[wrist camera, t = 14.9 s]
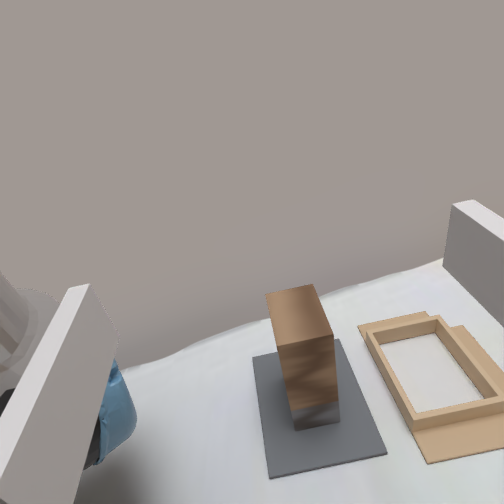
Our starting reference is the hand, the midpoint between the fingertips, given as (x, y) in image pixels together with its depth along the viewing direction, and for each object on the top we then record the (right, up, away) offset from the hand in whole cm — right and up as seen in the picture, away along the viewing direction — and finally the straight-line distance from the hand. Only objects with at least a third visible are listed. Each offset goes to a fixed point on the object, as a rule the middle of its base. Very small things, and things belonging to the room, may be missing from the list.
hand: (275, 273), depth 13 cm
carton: (+21, -13, +28) cm, 37 cm away
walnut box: (+6, -16, +28) cm, 33 cm away
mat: (+6, -17, +28) cm, 33 cm away
